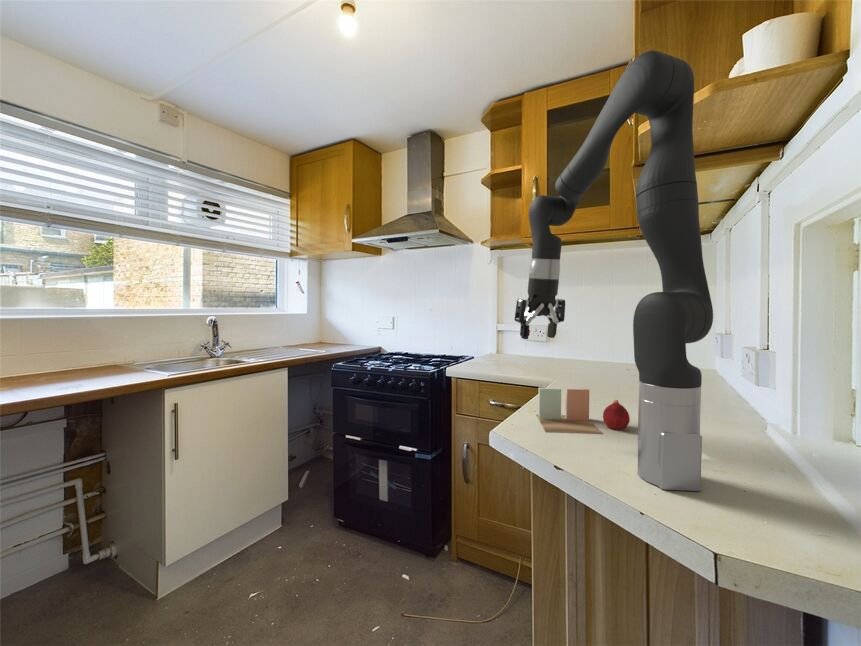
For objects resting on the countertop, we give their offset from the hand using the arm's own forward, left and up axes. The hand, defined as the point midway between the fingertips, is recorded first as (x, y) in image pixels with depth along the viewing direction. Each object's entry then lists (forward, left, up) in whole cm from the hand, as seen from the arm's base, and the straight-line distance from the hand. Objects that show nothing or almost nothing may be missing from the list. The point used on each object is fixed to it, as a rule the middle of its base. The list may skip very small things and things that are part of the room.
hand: (537, 338), depth 98 cm
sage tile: (-2, -3, -21) cm, 21 cm away
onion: (-7, -17, -23) cm, 29 cm away
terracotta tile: (-1, -10, -21) cm, 23 cm away
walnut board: (-6, -6, -22) cm, 24 cm away
